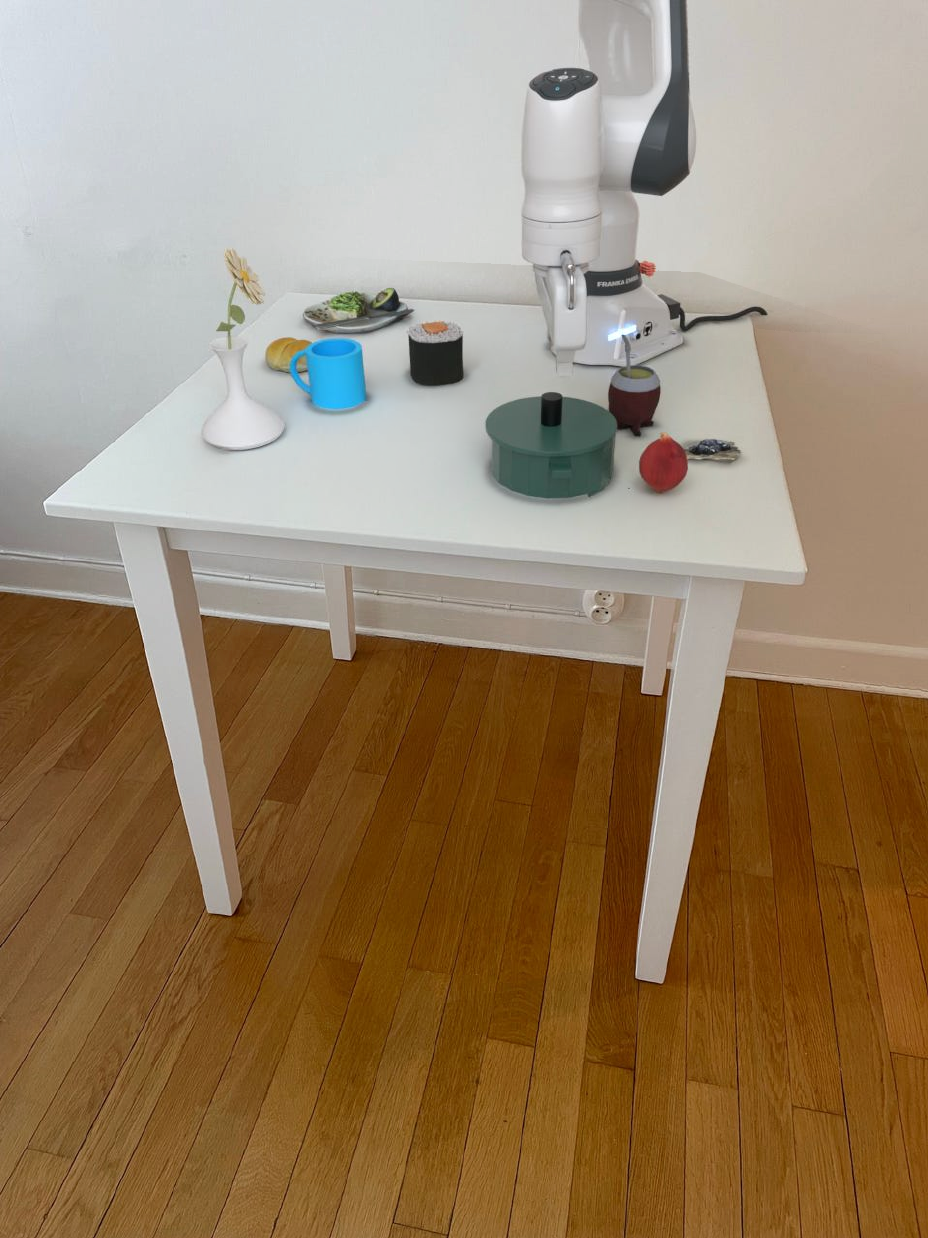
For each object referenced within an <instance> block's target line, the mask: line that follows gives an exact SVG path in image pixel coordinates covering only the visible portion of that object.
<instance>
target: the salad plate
mask: <svg viewBox="0 0 928 1238" xmlns="http://www.w3.org/2000/svg"><path fill="white" fill-rule="evenodd" d="M413 312H415V309H414V308H413V309H412V308H409V309H408V305H407V304H406V303H405V302H403V301H400V298H399V294H398V292H397V290H396V289H395V288H394V287H387V288H385V289H384V290H381V291H380V292H378V293H377V294H373V293H368V292H359V291H351V292H343V293H340V294H338V295H334V296H333V297H331V298H329V299H327V300H324V301H322V302H320V303H317V304H314V305H310V306H308V307H306V308H305V309H303V313H302V318H303V319H304V320H305V321H306V322H308V324H310V325H312V326H311V327H314V328H315V330H318V331H325V332H329V333H331V334H358V333H369V332H373V331H376V330H379V329H381V328H383V327H387V326H390V325H394V324H395V323H398V322H399V321H401V320H403V318H404V317H407V316H408V315H411V314H412V313H413Z"/></svg>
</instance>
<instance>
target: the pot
mask: <svg viewBox="0 0 928 1238" xmlns="http://www.w3.org/2000/svg"><path fill="white" fill-rule="evenodd" d="M616 436H617V434H616V435H615V437H614V438H613V439H612V440H611V441H610V442H609V443H608V444H606V445H604V446H603V447H601V448H599V449H596V450H593V451H591V452H587V453H583V454H578V455H571V456H559V457H547V456H535V455H528V454H523V453H519V452H515V451H512V450H509V449H507V448H504V447H502V446H500V445H499V444H497V443H495V442H494V441H493V440H492V439H491V474H492V476H493V478H494V479H495V481H497V483H499V484H500V486H503V487H504V488H506V489H508V490H510V491H511V492H514V493H518V494H521V495H524V496H527V497H531V498H532V497H533V498H541V499H570V498H575V497H580V496H585V495H587V498H589V497H591V496H594V495H597V494H599V493H600V492H601V491H603V490H604V489H605V488H606V487H607V486H609V484H610V482H611V480H612V476H613V473H614V462H615V450H616V438H617V437H616Z"/></svg>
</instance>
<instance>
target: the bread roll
mask: <svg viewBox="0 0 928 1238" xmlns="http://www.w3.org/2000/svg"><path fill="white" fill-rule="evenodd" d="M312 343H313V342H312V341H309V340H307V339H296V338H294V337H280V338H278V339H276V340H274V341H273V342H271V343H270V344H268V346H267V348H266V349H265V355H264V357H265V362H266V365H267V366H268V367H269V368H270V369H272V370H275V371H282V372H284V373H290V362H291V360H292V357H293V356H294V355H295V354H296V353H298V352H299V351H302V350H305V349H306V347H307V346H309V345H310V344H312ZM296 369H297V372H298V373H301V372H306V371H308V368H307V360H306V355H304V356H302V357H301V358H299V360H298V362H297V368H296Z"/></svg>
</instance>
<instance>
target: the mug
mask: <svg viewBox="0 0 928 1238" xmlns="http://www.w3.org/2000/svg"><path fill="white" fill-rule="evenodd" d="M304 355H306V360H307V368H308V370H307V375H308V384H309V385H308V384H307V383H306V382H305V381H303V379H302V377H301V376H300V375H299V372H297V369H296V368H297V362H298V360H299V358H301V357H302V356H304ZM363 356H364V355H363V345H362V344H361V343H360V342H359V341H356V340H355V339H350V338H343V337H335V338H334V337H333V338H332V337H331V338H326V339H320V340H317V341H314V342H312V344H310V345H309V346H307V347H306V349H305V350H302V351H299V352H298V353H296V354H295V355H294V356H293V357H292V360H291V362H290V372H289V374H290V376H291V378H292V379H293V381H294V383H295V384H296V386H298V387H300V389H301V390H302V391H305V392H306V393H307V394H309V395H310V398H311V403H312V405H315V406H316V407H318V408H321V409H324V410H325V409H326V410H344V409H350V408H353V407H356V406H359V405H361V404H362V403H364V402H367V392H366V391H367V389H366V379H365V378H366V377H365V369H364V368H365V367H364V357H363Z"/></svg>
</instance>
